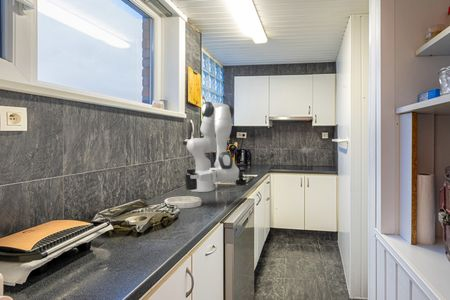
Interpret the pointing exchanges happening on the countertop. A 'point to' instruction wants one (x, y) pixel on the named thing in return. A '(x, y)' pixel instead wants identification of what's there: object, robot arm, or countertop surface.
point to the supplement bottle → (190, 180)
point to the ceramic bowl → (184, 201)
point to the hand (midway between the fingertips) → (189, 176)
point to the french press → (241, 175)
